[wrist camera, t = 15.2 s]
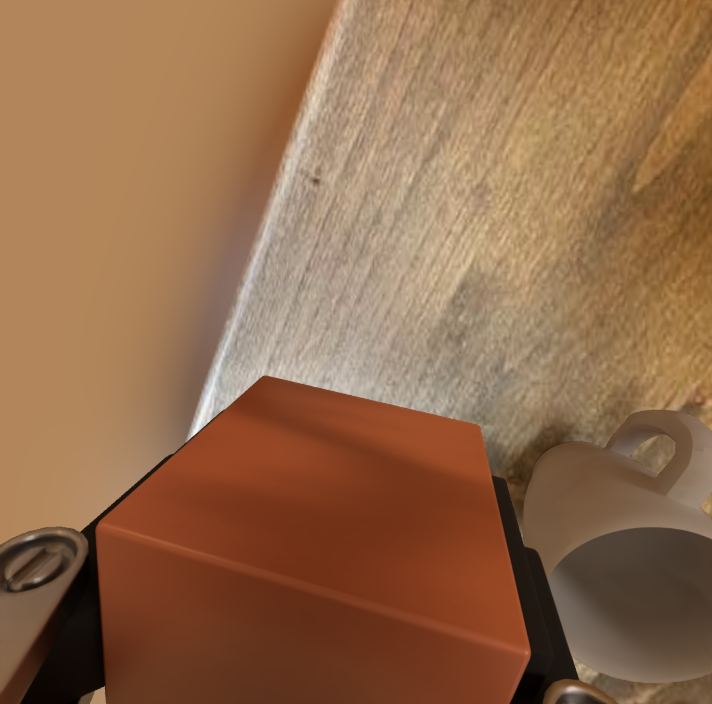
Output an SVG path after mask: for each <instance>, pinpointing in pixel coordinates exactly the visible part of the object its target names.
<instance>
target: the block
mask: <svg viewBox="0 0 712 704" xmlns="http://www.w3.org/2000/svg"><path fill="white" fill-rule="evenodd" d="M95 532H96V548H97V565H98V581H99V597H100V614H101V630H102V646H103V663H104V679H105V696H106V704H510V702H511V700H512V698H513V695H514V693H515V691H516V689H517V686H518V684H519V682H520V680H521V677H522V675H523V673H524V671H525V668H526V666H527V664H528V662H529V660H530V656H531V650H530V645H529V641H528V636H527V632H526V627H525V623H524V618H523V614H522V610H521V605H520V601H519V596H518V592H517V587H516V583H515V579H514V574H513V570H512V565H511V561H510V556H509V552H508V548H507V543H506V539H505V534H504V530H503V526H502V521H501V517H500V512H499V508H498V503H497V499H496V495H495V490H494V486H493V481H492V477H491V472H490V468H489V464H488V459H487V455H486V450H485V446H484V441H483V437H482V433H481V428H480V426H478V425H476V424H472V423H468V422H463V421H459V420H455V419H450V418H446V417H442V416H437V415H433V414H429V413H425V412H420V411H416V410H412V409H407V408H403V407H399V406H395V405H390V404H386V403H382V402H377V401H373V400H369V399H364V398H360V397H356V396H352V395H347V394H343V393H339V392H334V391H330V390H326V389H322V388H317V387H313V386H309V385H304V384H300V383H296V382H292V381H287V380H283V379H279V378H274V377H270V376H262V377H261V378H260V379H259V380H258V381H257V382H256V383H254V384H253V385H252V386H251V387H250V388H249V389H248V390H247V391H245V392H244V393H243V394H242V395H241V396H240V397H239V398H238V399H236V400H235V401H234V402H233V403H232V404H231V405H230V406H229V407H227V408H226V409H225V410H224V411H223V412H222V413H221V414H220V415H218V416H217V417H216V418H215V419H214V420H213V421H212V422H211V423H209V424H208V425H207V426H206V427H205V428H204V429H203V430H202V431H201V432H199V433H198V434H197V435H196V436H195V437H194V438H193V439H192V440H190V441H189V442H188V443H187V444H186V445H185V446H184V447H183V448H181V449H180V450H179V451H178V452H177V453H176V454H175V455H174V456H172V457H171V458H170V459H169V460H168V461H167V462H166V463H165V464H163V465H162V466H161V467H160V468H159V469H158V470H157V471H156V472H154V473H153V474H152V475H151V476H150V477H149V478H148V479H147V480H145V481H144V482H143V483H142V484H141V485H140V486H139V487H138V488H137V489H135V490H134V491H133V492H132V493H131V494H130V495H129V496H128V497H126V498H125V499H124V500H123V501H122V502H121V503H120V504H119V505H117V506H116V507H115V508H114V509H113V510H112V511H111V512H110V513H108V514H107V515H106V516H105V517H104V518H103V519H102V520H101V521H99V523H98V525H97V527H96V529H95Z"/></svg>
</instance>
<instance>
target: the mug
mask: <svg viewBox="0 0 712 704" xmlns="http://www.w3.org/2000/svg"><path fill="white" fill-rule="evenodd" d="M660 434H666V435H668V436H669V437H671V438H672V439H673V440H675V441H676V448H675V455H674V456H673V458H672V459H671V460H670V462H669V463H668V464H667V465H666V466H665V467H664V469H663V470H662V471H661V472H660V473H659V475H658V474H656V473H655V472H653V471H652V470H650V469H648V468H647V467H645V466H643V465H642V464H640V463H638V462H636V461H634V460H633V459H632V458H631V455H632V454H633V452H634V451H635V449H636V448H637V447H638V446H639V445H640V444H642V443H643V442H644V441H646V440H648V439H650V438H652V437H655V436H657V435H660ZM711 493H712V431H711V430H710V429H709V428H708V427H707V426H706V425H705V424H704V423H702V422H701V421H700V420H698V419H697V418H695V417H692V416H690V415H688V414H685V413H681V412H677V411H671V410H645V411H640V412H636V413H633V414H631V415H630V416H629V417H628V418H627V419H626V420H625V422H624V423H623V424H622V425H621V426H620V428H619V429H618V430H617V431H616V432H615V433H614V435H613V436H612V437H611V439H610V440H609V442H608V444H607V445H606V447H605V448H601V447H599V446H597V445H594V444H591V443H587V442H568V443H563V444H560V445H557V446H555V447H553V448H551V449H549V450H548V451H546V452H545V453H544V454H543V455H542V456H541V457H540V458H539V459H538V460H537V462H536V464H535V466H534V468H533V472H532V478H531V481H530V483H529V486H528V489H527V492H526V496H525V501H524V508H523V540H524V546H525V547H529V548H533V549H535V550H536V551H537V552H538V553H539V556H540V558H541V561H542V564H543V567H544V570H545V573H546V577H547V580H548V583H549V586H550V589H551V592H552V596H553V599H554V602H555V605H556V608H557V611H558V615H559V618H560V621H561V624H562V627H563V630H564V633H565V637H566V640H567V643H568V646H569V649H570V652H571V656H572V657H573V658H574V659H576V660H577V661H579V662H580V663H582V664H584V665H586V666H587V667H589V668H591V669H593V670H596V671H598V672H600V673H603V674H606V675H609V676H612V677H615V678H619V679H624V680H629V681H635V682H645V683H670V682H679V681H685V680H690V679H694V678H698V677H702V676H705V675H708V674H711V673H712V518H711V517H710V516H709V515H708V514H707V513H705V512H704V511H703V510H702V509H701V508H700V507H701V505H702V504H703V503H704V501H705V500H706V499H707V498H708V496H709V495H710V494H711Z"/></svg>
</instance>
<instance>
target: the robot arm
mask: <svg viewBox="0 0 712 704" xmlns="http://www.w3.org/2000/svg"><path fill="white" fill-rule="evenodd" d="M223 411H224V410H223ZM223 411H221V412H220V413H219V414H218V415H220V414H221V413H222V412H223ZM218 415H217V416H218ZM217 416H216V417H217ZM216 417H215V418H216ZM215 418H213V419H212V420H211V421H210V422H209V423H211V422H212V421H213V420H214V419H215ZM209 423H208V424H209ZM208 424H207V425H208ZM207 425H206V426H207ZM206 426H204V427H203V428H202V429H201V430H200V431H199V432H201V431H202V430H203V429H204V428H205V427H206ZM199 432H198V433H199ZM198 433H196V434H195V435H194V436H193V437H192V438H191V439H190V440H192V439H193V438H194V437H195V436H196V435H197V434H198ZM190 440H189V441H190ZM189 441H187V442H186V443H185V444H184V445H183V446H182V447H181V448H183V447H184V446H185V445H186V444H187V443H188V442H189ZM181 448H180V449H181ZM180 449H178V451H179V450H180ZM178 451H176V452H175V453H174V454H171V455H169V456H167V457H166V458H164V459H163V460H162V461H161V462H160V463H159V464H158V465H156V466H155V467H154V468H153V469H152V470H151V471H150V472H148V473H147V474H146V475H145V476H144V477H143V478H142V479H140V480H139V481H138V482H137V483H136V484H135V485H134V486H132V487H131V488H130V489H129V490H128V491H127V492H126V493H124V494H123V495H122V496H121V497H120V498H119V499H117V500H116V501H115V502H114V503H113V504H112V505H111V506H110V507H108V508H107V509H106V510H105V511H104V512H103V513H101V514H100V515H99V516H98V517H97V518H96V519H95V520H93V521H92V522H91V523H90V524H89V525H88V526H87V527H85V528H84V529H83V530H82V531H81V532H78V531H76V530H75V529H71V528H65V527H46V528H41V529H37V530H33V531H29V532H26V533H23V534H21V535H19V536H16V537H14V538H11V539H10V540H8V541H6V542H5V543H3V544H1V545H0V704H90V702H91V700H92V697H93V695H94V692H95V690H97V689H100V688H102V687H104V686H105V679H104V663H103V646H102V630H101V614H100V597H99V581H98V565H97V548H96V532H95V529H96V527H97V525H98V523H99V521H101V520H102V519H103V518H104V517H105V516H106V515H107V514H108V513H110V512H111V511H112V510H113V509H114V508H115V507H116V506H117V505H119V504H120V503H121V502H122V501H123V500H124V499H125V498H126V497H128V496H129V495H130V494H131V493H132V492H133V491H134V490H135V489H137V488H138V487H139V486H140V485H141V484H142V483H143V482H144V481H145V480H147V479H148V478H149V477H150V476H151V475H152V474H153V473H154V472H156V471H157V470H158V469H159V468H160V467H161V466H162V465H163V464H165V463H166V462H167V461H168V460H169V459H170V458H171V457H172V456H174V455H175V454H176V453H177V452H178ZM491 477H492V481H493V486H494V490H495V495H496V499H497V503H498V508H499V512H500V517H501V521H502V526H503V530H504V534H505V539H506V543H507V548H508V552H509V556H510V561H511V565H512V570H513V574H514V579H515V583H516V587H517V592H518V596H519V601H520V605H521V610H522V614H523V618H524V623H525V627H526V632H527V636H528V641H529V645H530V650H531V656H530V660H529V662H528V664H527V666H526V668H525V671H524V673H523V675H522V677H521V680H520V682H519V684H518V686H517V689H516V691H515V693H514V695H513V698H512V700H511V702H510V704H618V703H617V702H616V701H615V700H614V699H613V698H611V697H610V696H608V695H607V694H605V693H604V692H602V691H601V690H599V689H598V688H596V687H594V686H592V685H589V684H587V683H585V682H582V681H580V680H579V678H578V675H577V671H576V668H575V665H574V662H573V659H572V656H571V652H570V649H569V646H568V643H567V640H566V637H565V633H564V630H563V627H562V624H561V621H560V618H559V615H558V611H557V608H556V605H555V602H554V599H553V596H552V592H551V589H550V586H549V583H548V580H547V577H546V573H545V570H544V567H543V564H542V561H541V558H540V556H539V553H538V552H537V551H536V550H535V549H533V548H529V547H525V546H524V544H523V541H522V537H521V533H520V530H519V526H518V523H517V519H516V515H515V512H514V508H513V505H512V501H511V497H510V494H509V490H508V487H507V483H506V480H505V479H504V478H500V477H496V476H492V475H491Z"/></svg>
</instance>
